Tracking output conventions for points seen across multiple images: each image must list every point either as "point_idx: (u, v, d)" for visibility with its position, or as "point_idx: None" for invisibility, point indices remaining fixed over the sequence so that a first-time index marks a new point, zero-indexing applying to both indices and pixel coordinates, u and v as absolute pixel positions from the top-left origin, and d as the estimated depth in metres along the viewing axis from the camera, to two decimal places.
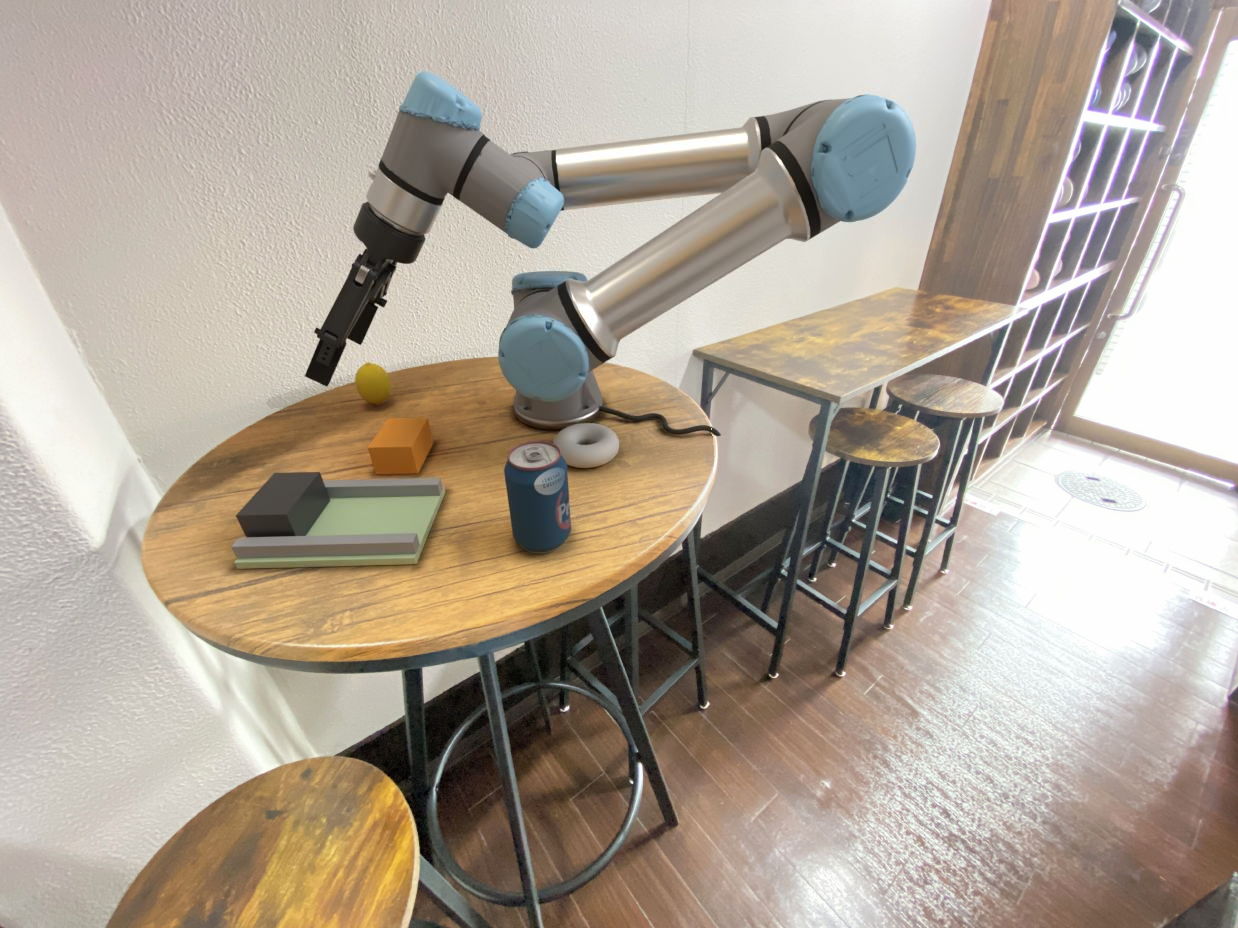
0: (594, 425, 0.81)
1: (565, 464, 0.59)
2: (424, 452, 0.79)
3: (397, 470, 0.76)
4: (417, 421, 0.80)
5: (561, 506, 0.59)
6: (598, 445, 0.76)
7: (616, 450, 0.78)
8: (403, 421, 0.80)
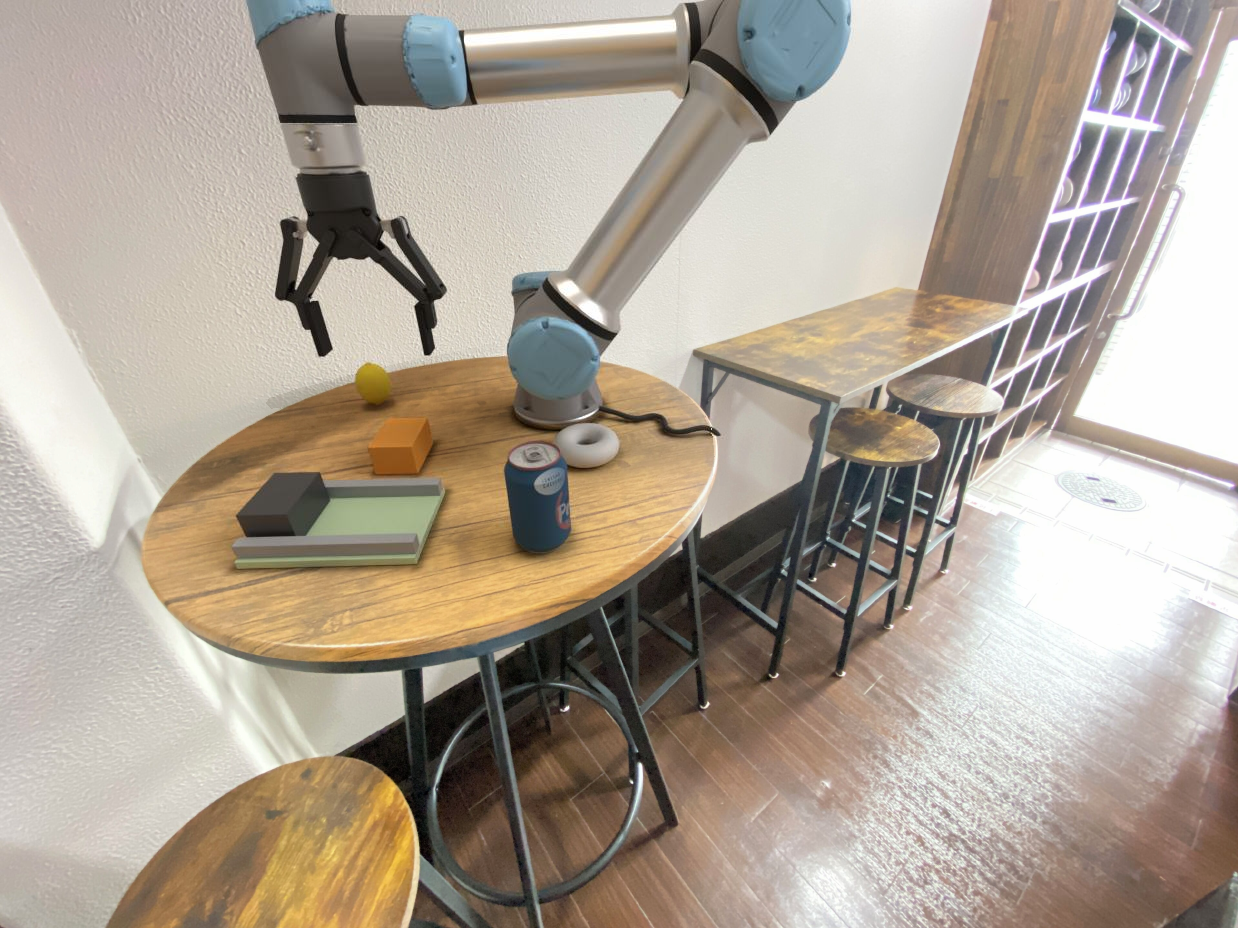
0: (594, 425, 0.81)
1: (565, 464, 0.59)
2: (424, 452, 0.79)
3: (397, 470, 0.76)
4: (417, 421, 0.80)
5: (561, 506, 0.59)
6: (598, 445, 0.76)
7: (616, 450, 0.78)
8: (403, 421, 0.80)
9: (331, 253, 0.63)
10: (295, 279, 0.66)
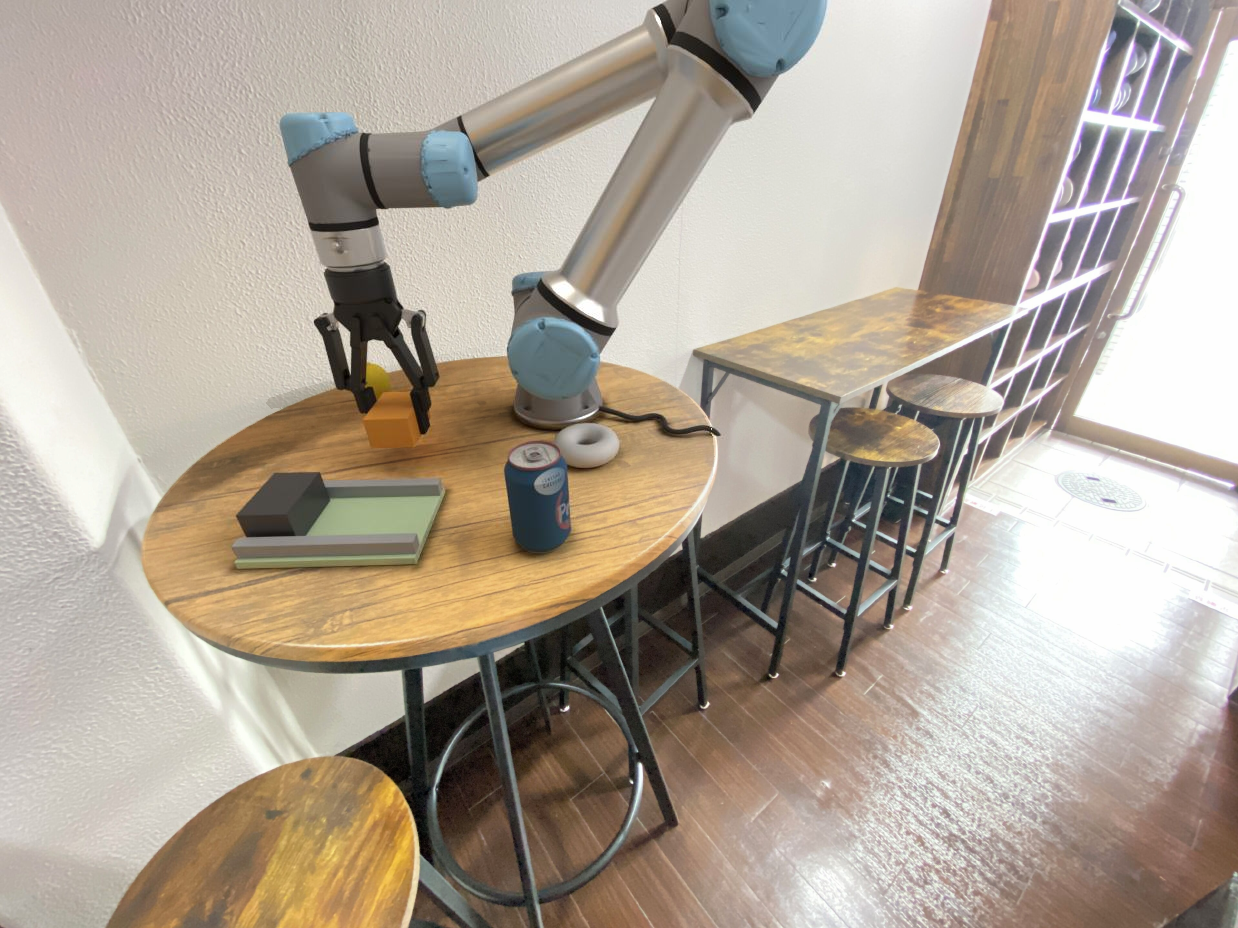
0: (594, 425, 0.81)
1: (565, 464, 0.59)
2: None
3: (393, 443, 0.73)
4: None
5: (561, 506, 0.59)
6: (598, 445, 0.76)
7: (616, 450, 0.78)
8: (399, 394, 0.78)
9: (363, 337, 0.68)
10: (347, 367, 0.72)
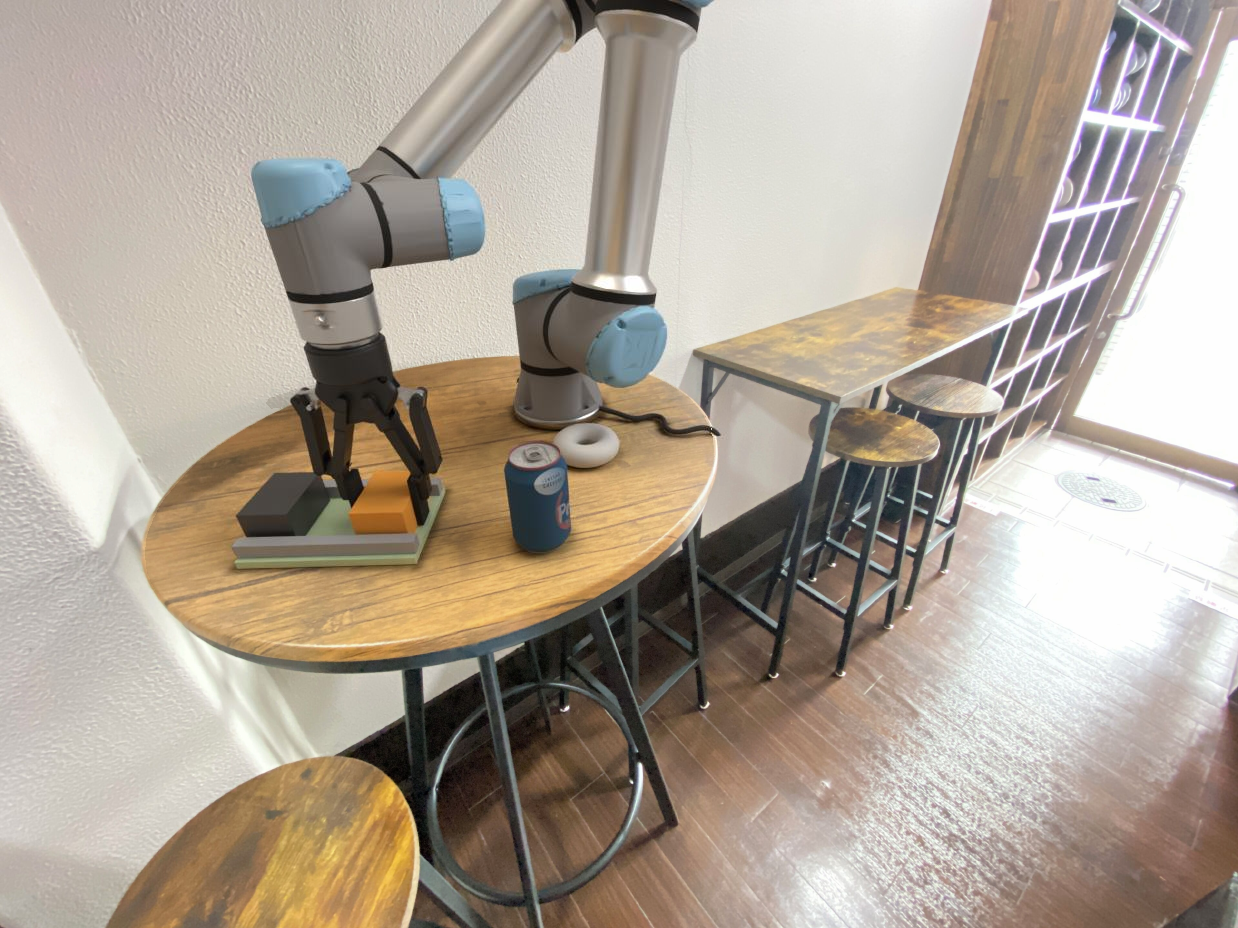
0: (594, 425, 0.81)
1: (565, 464, 0.59)
2: None
3: None
4: None
5: (561, 506, 0.59)
6: (598, 445, 0.76)
7: (616, 450, 0.78)
8: (393, 475, 0.66)
9: (350, 418, 0.57)
10: (328, 448, 0.61)
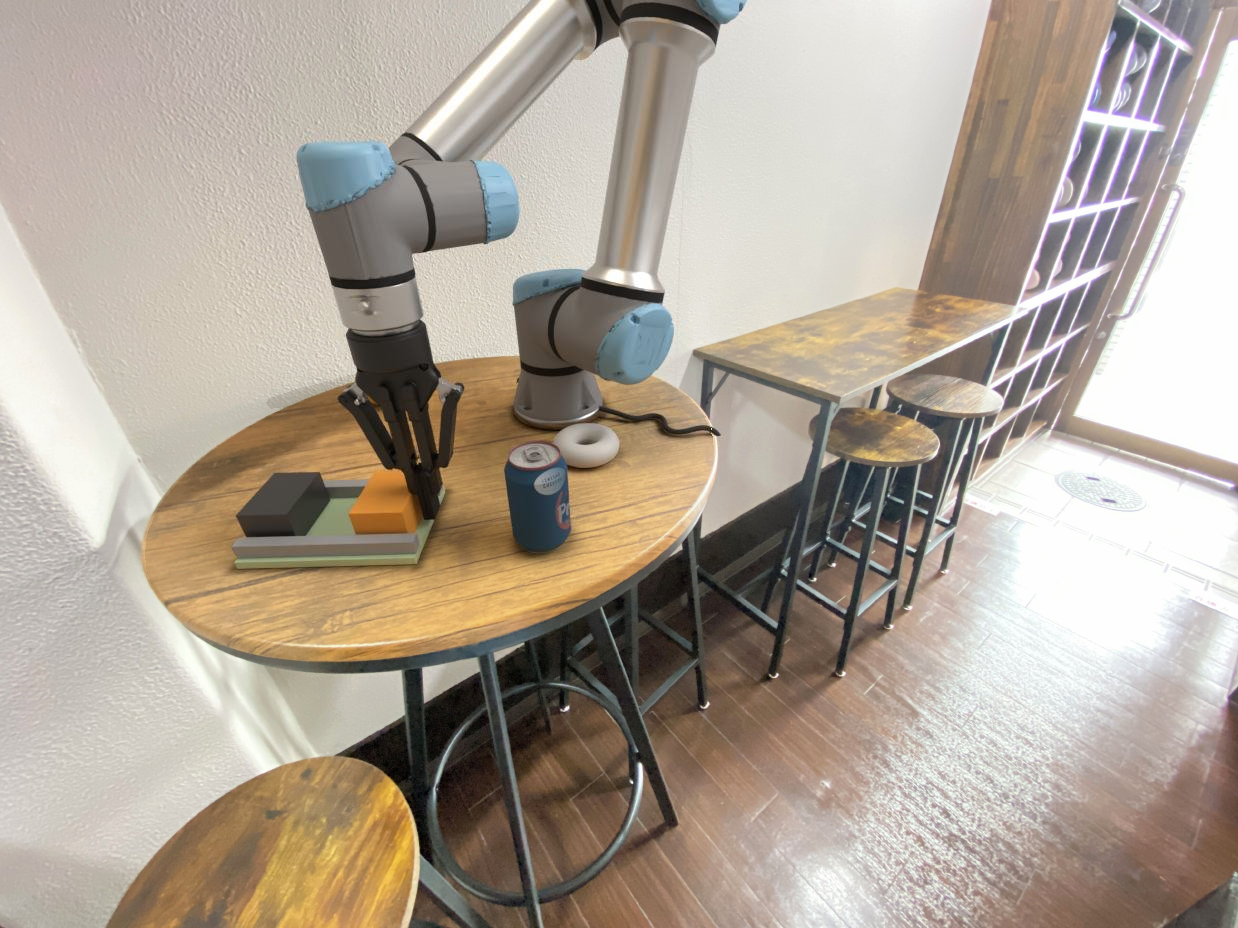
0: (594, 425, 0.81)
1: (565, 464, 0.59)
2: (418, 514, 0.65)
3: None
4: None
5: (561, 506, 0.59)
6: (598, 445, 0.76)
7: (616, 450, 0.78)
8: (393, 475, 0.66)
9: (397, 406, 0.56)
10: (391, 441, 0.61)
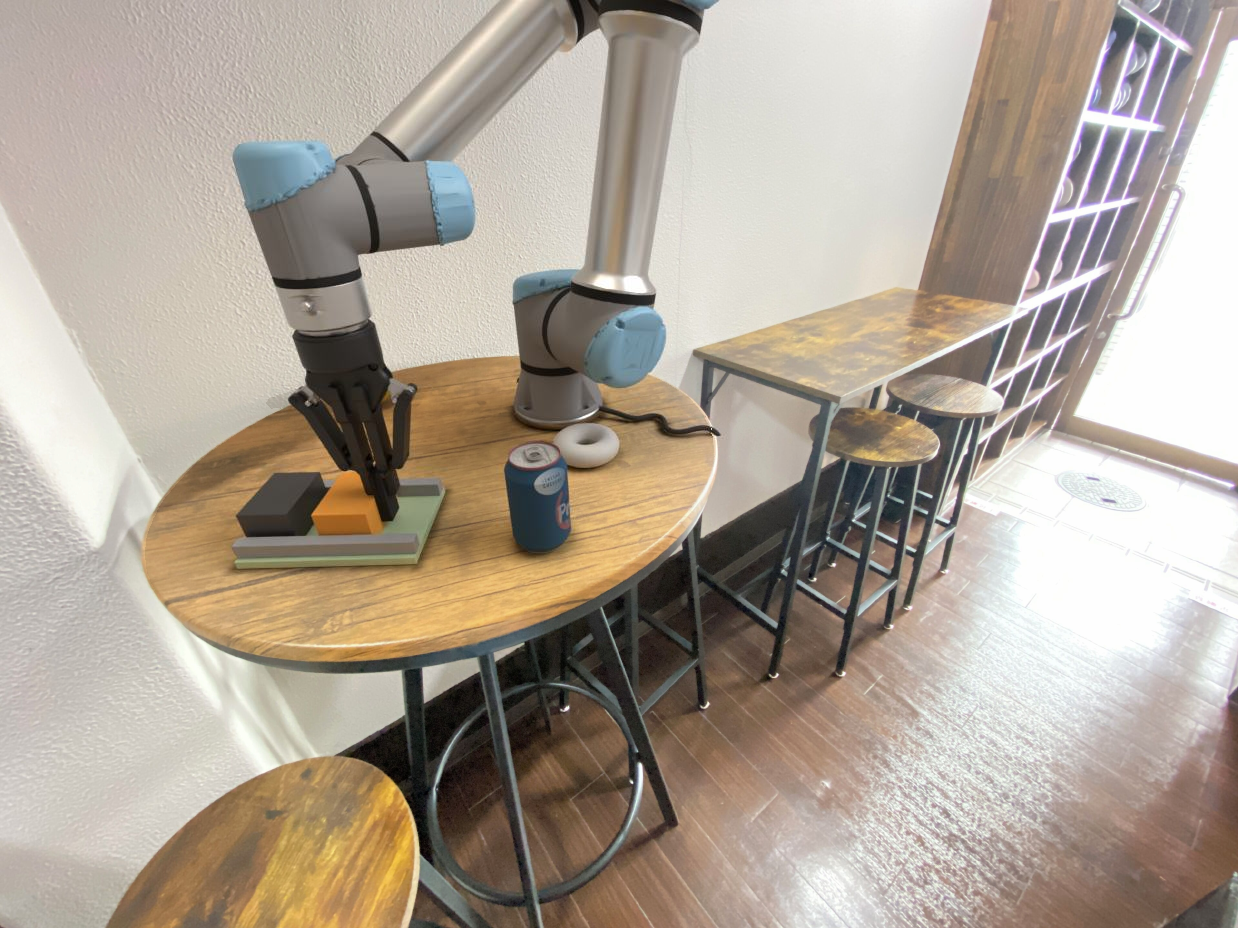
0: (594, 425, 0.81)
1: (565, 464, 0.59)
2: None
3: None
4: None
5: (561, 506, 0.59)
6: (598, 445, 0.76)
7: (616, 450, 0.78)
8: (359, 476, 0.66)
9: (348, 407, 0.56)
10: (346, 442, 0.60)
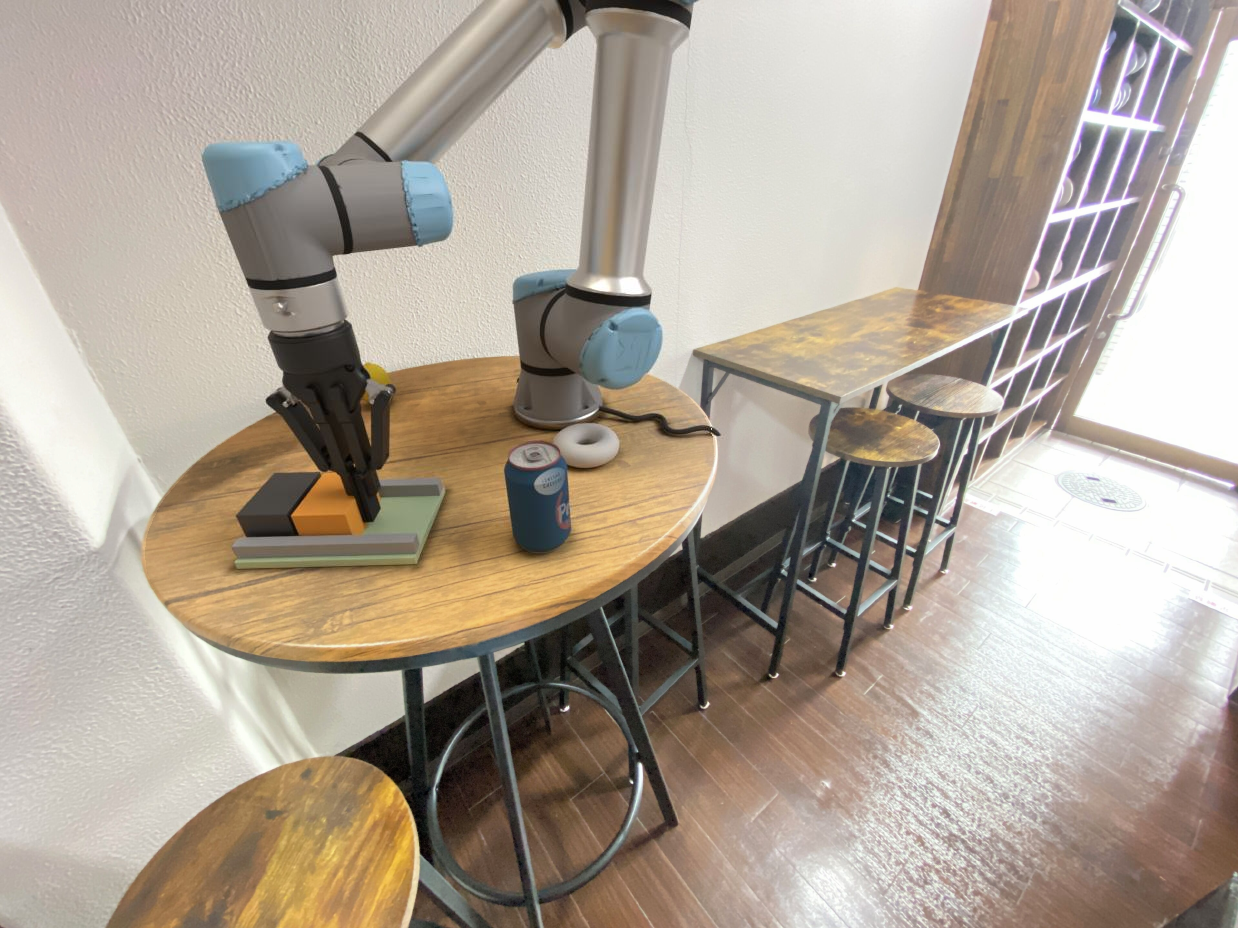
0: (594, 425, 0.81)
1: (565, 464, 0.59)
2: None
3: None
4: None
5: (561, 506, 0.59)
6: (598, 445, 0.76)
7: (616, 450, 0.78)
8: None
9: (326, 407, 0.56)
10: (326, 443, 0.60)
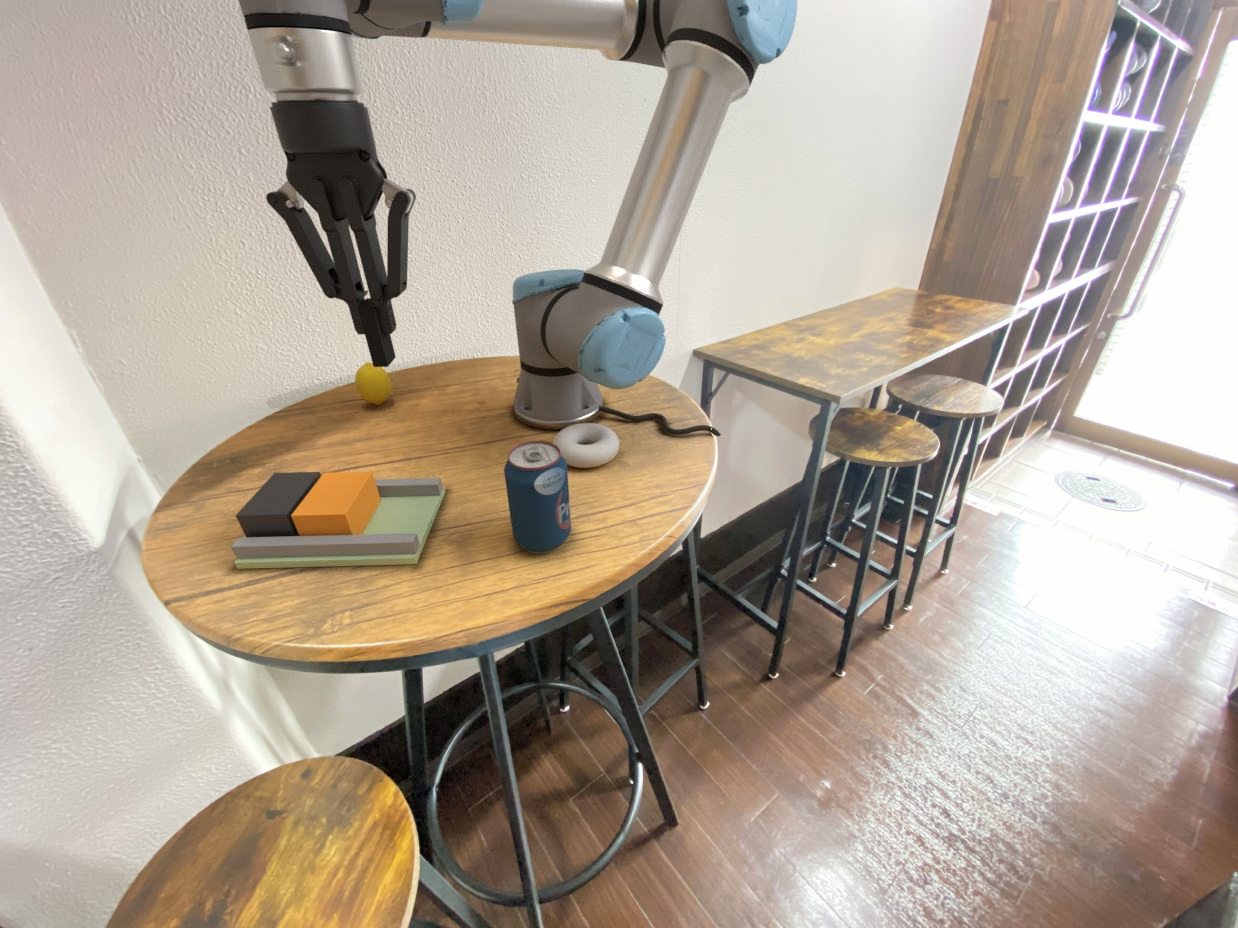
0: (594, 425, 0.81)
1: (565, 464, 0.59)
2: (366, 515, 0.65)
3: None
4: (358, 477, 0.66)
5: (561, 506, 0.59)
6: (598, 445, 0.76)
7: (616, 450, 0.78)
8: (341, 477, 0.66)
9: (336, 211, 0.49)
10: (334, 267, 0.53)
